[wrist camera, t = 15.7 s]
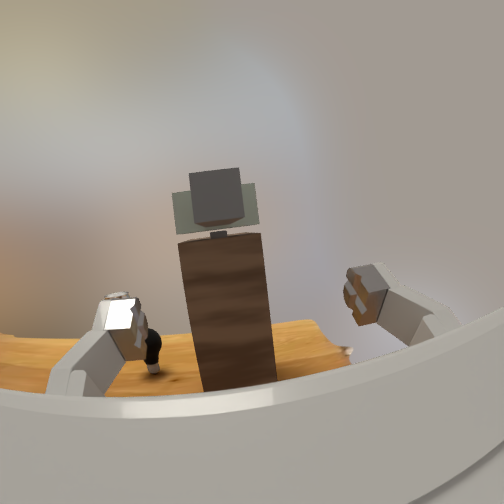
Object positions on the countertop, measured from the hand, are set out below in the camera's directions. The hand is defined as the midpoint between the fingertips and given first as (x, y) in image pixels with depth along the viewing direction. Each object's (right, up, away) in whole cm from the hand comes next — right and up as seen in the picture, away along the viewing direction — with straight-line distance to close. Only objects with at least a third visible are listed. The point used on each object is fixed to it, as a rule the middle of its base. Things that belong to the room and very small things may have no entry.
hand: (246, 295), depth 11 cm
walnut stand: (-2, -22, +35) cm, 41 cm away
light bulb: (-20, -23, +44) cm, 54 cm away
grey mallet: (-3, +4, +19) cm, 20 cm away
